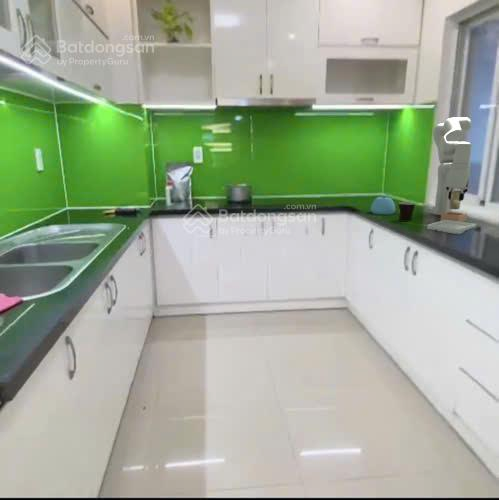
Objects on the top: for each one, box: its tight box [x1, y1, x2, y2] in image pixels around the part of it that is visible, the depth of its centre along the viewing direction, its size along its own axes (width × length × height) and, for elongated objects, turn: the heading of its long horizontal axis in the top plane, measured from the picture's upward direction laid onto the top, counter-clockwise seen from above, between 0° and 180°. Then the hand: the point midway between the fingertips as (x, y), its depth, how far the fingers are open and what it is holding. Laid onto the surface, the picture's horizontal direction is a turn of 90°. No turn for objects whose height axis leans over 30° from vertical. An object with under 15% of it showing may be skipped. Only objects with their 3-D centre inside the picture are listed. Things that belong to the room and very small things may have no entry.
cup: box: [440, 211, 468, 222], centre depth 215 cm, size 10×10×5 cm
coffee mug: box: [398, 201, 416, 223], centre depth 219 cm, size 12×9×10 cm
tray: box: [427, 220, 477, 235], centre depth 199 cm, size 16×20×2 cm
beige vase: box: [449, 189, 461, 210], centre depth 212 cm, size 5×5×10 cm
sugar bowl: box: [370, 194, 396, 216], centre depth 245 cm, size 15×15×12 cm
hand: (455, 199), depth 212 cm, fingers closed on beige vase, 5 cm apart
